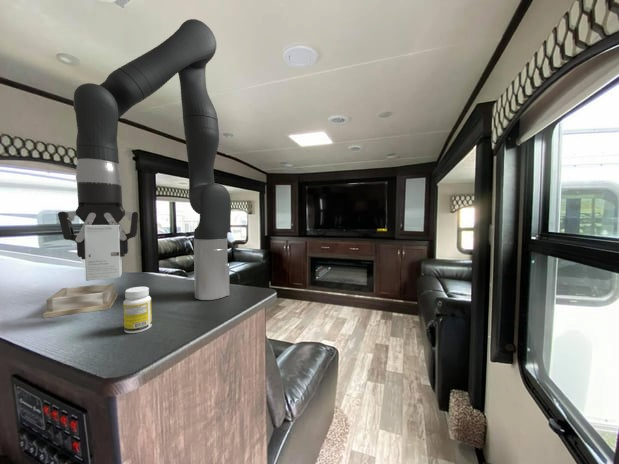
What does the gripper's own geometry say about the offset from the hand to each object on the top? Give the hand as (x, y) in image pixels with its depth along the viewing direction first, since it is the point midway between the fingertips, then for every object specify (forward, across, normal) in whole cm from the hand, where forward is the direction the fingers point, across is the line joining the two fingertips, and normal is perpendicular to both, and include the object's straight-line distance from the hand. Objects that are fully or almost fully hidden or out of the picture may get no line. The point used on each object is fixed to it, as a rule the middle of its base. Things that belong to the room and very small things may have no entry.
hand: (104, 257), depth 55 cm
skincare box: (+5, 0, 0) cm, 5 cm away
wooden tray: (+14, +6, -13) cm, 20 cm away
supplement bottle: (+14, -6, +10) cm, 19 cm away
